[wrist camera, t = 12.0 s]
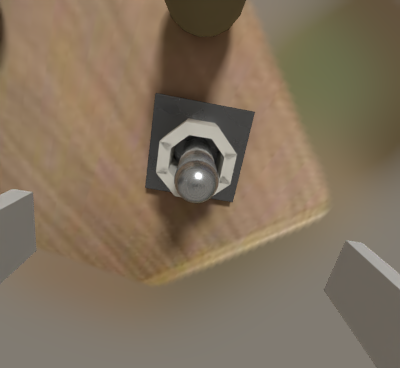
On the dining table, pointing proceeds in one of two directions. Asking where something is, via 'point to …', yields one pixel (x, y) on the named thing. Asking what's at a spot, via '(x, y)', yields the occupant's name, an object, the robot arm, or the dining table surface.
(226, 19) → the squeeze bottle
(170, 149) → the ring
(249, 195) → the dining table surface
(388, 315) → the robot arm
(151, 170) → the post
